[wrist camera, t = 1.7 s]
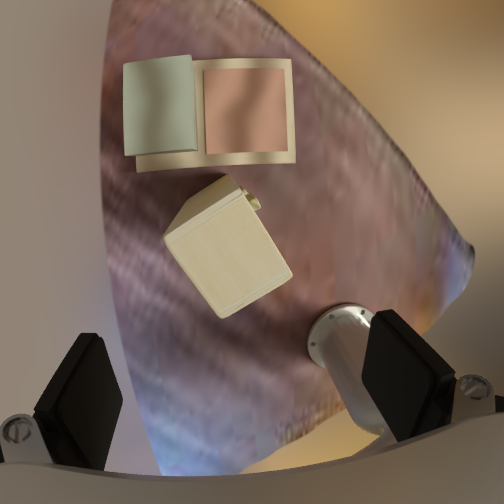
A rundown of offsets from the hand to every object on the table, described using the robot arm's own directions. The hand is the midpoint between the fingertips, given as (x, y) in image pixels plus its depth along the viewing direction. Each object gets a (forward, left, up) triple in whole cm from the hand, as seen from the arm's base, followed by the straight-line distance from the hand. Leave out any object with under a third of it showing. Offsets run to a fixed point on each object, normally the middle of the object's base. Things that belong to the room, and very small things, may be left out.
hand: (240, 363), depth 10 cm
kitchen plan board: (+1, -13, -34) cm, 36 cm away
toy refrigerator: (0, 0, -34) cm, 34 cm away
